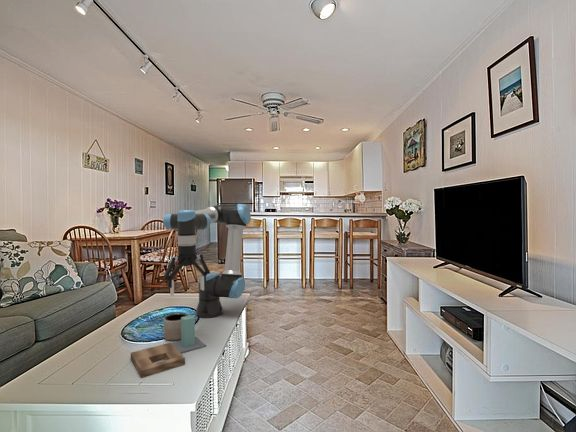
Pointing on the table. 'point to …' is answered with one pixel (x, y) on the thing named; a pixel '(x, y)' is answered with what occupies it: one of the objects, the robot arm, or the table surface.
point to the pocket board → (156, 359)
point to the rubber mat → (189, 348)
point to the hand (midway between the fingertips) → (187, 292)
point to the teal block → (187, 331)
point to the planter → (173, 326)
